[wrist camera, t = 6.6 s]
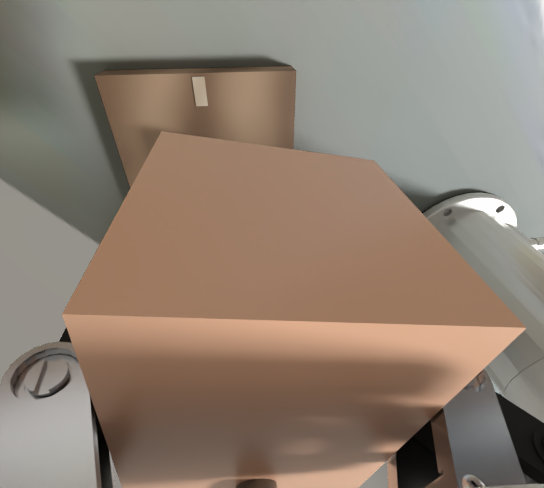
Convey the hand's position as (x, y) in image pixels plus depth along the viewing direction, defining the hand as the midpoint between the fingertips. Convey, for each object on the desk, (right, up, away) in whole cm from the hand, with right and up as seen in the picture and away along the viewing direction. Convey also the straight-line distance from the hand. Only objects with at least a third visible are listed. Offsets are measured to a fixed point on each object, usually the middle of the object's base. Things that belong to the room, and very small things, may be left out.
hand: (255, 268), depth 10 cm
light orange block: (0, +1, +1) cm, 1 cm away
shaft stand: (-4, +8, +16) cm, 18 cm away
